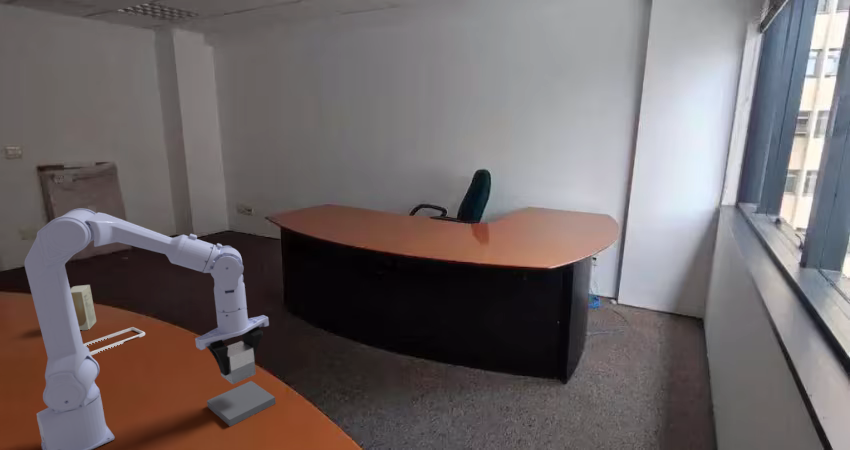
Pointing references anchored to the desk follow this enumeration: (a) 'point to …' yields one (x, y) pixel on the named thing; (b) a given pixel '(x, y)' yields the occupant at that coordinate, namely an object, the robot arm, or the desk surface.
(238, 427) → the desk surface
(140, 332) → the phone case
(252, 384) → the stand
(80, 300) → the skincare box
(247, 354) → the block
